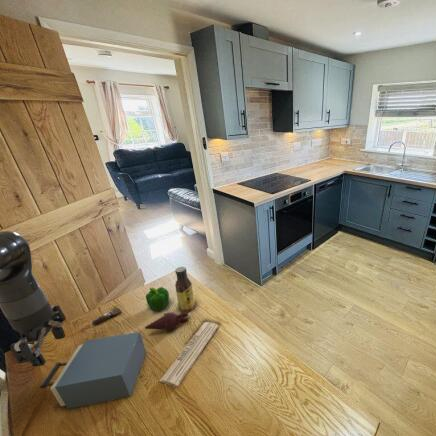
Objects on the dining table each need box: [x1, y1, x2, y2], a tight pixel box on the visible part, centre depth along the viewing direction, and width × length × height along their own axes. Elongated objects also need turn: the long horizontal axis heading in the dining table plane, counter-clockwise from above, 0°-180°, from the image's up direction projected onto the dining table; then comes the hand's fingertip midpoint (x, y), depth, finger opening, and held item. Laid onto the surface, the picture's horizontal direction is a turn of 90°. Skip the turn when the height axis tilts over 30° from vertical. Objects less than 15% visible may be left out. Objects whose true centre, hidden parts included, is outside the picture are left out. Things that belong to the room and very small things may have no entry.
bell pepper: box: [145, 286, 170, 312], centre depth 101 cm, size 8×8×10 cm
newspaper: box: [158, 321, 219, 388], centre depth 84 cm, size 24×7×2 cm, turn 165°
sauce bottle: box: [174, 266, 196, 313], centre depth 99 cm, size 7×6×20 cm
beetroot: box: [144, 311, 189, 333], centre depth 92 cm, size 7×7×15 cm
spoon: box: [91, 308, 122, 326], centre depth 96 cm, size 10×3×2 cm, turn 141°
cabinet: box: [55, 331, 147, 410], centre depth 73 cm, size 16×15×10 cm
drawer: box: [39, 343, 83, 407], centre depth 72 cm, size 20×14×8 cm
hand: (51, 350), depth 67 cm, fingers open, 8 cm apart
